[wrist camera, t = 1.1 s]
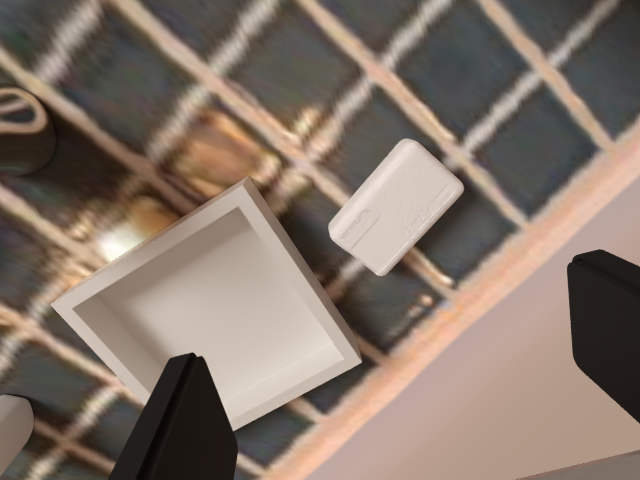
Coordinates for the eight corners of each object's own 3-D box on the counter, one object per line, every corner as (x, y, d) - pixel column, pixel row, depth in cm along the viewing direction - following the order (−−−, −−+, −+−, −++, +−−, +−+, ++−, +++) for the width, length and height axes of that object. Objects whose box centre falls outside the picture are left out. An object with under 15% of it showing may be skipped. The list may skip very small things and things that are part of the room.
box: (248, 175, 30) (242, 185, 27) (356, 337, 35) (362, 362, 32) (76, 283, 32) (50, 304, 29) (200, 422, 37) (190, 454, 34)
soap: (403, 133, 30) (415, 136, 27) (455, 181, 31) (471, 189, 28) (323, 225, 32) (326, 238, 29) (375, 267, 33) (383, 282, 30)
